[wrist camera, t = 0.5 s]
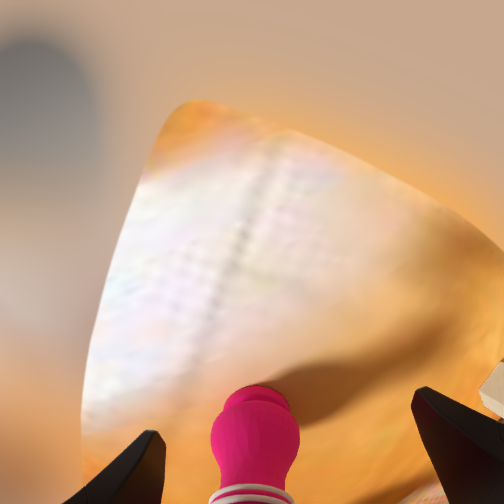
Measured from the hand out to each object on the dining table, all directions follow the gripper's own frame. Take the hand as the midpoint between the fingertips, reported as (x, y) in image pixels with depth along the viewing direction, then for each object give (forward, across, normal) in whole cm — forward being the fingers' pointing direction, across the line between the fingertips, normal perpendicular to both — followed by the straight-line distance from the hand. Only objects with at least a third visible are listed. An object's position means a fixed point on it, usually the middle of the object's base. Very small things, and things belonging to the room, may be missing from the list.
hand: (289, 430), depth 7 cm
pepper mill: (+12, +3, +13) cm, 18 cm away
